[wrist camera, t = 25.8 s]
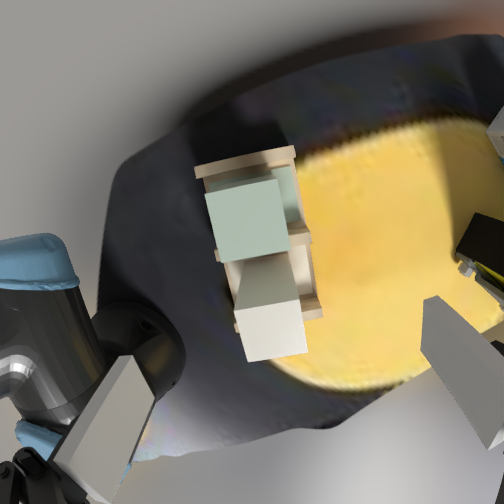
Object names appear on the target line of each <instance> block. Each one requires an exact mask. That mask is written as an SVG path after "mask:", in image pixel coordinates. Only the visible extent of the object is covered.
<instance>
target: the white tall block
mask: <svg viewBox="0 0 504 504" xmlns="http://www.w3.org/2000/svg"><path fill="white" fill-rule="evenodd" d="M234 314H235V317H236V321H237V325H238V328H239V332H240V335H241V339H242V343H243V346H244V350H245V353H246V357H247V360H248V362H253V361H260V360H266V359H273V358H279V357H285V356H291V355H296V354H302V353H307V352H308V350H307V343H306V337H305V330H304V324H303V318H302V312H301V305H300V300H299V295H298V291H297V287H296V283H295V278H294V274H293V270H292V266H291V262H290V258H289V254H288V253H284V254H279V255H274V256H269V257H263V258H258V259H253V260H248V261H244V266H243V270H242V275H241V280H240V284H239V289H238V293H237V298H236V303H235V307H234Z"/></svg>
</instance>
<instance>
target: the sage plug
mask: <svg viewBox="0 0 504 504" xmlns="http://www.w3.org/2000/svg"><path fill="white" fill-rule="evenodd" d="M205 198H206V203H207V207H208V211H209V215H210V219H211V223H212V228H213V232H214V236H215V240H216V244H217V248H218V252H219V256H220V260H221V263H225V262H230V261H235V260H240V259H246V258H251V257H256V256H261V255H267V254H272V253H277V252H282V251H288V250H291V247H290V241H289V236H288V231H287V225H286V220H285V215H284V210H283V205H282V200H281V195H280V190H279V185H278V180H277V178H276V177H275V176H274V175H273V174H270V175H265V176H260V177H256V178H251V179H246V180H241V181H237V182H232V183H228V184H225V185H223V186H221V187H219V188H217V189H214V190H212V191H210V192H208V193H206V194H205Z"/></svg>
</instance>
